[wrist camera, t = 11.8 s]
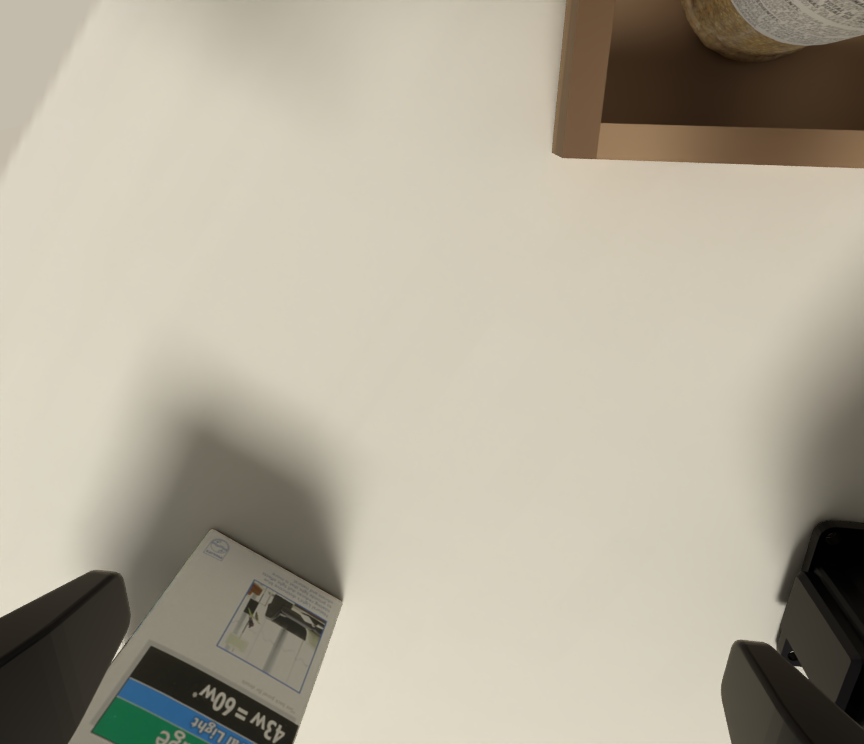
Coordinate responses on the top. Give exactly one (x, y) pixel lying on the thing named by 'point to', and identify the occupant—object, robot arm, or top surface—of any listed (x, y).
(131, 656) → the light bulb box
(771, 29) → the sprinkles bottle
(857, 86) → the crate
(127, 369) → the top surface
